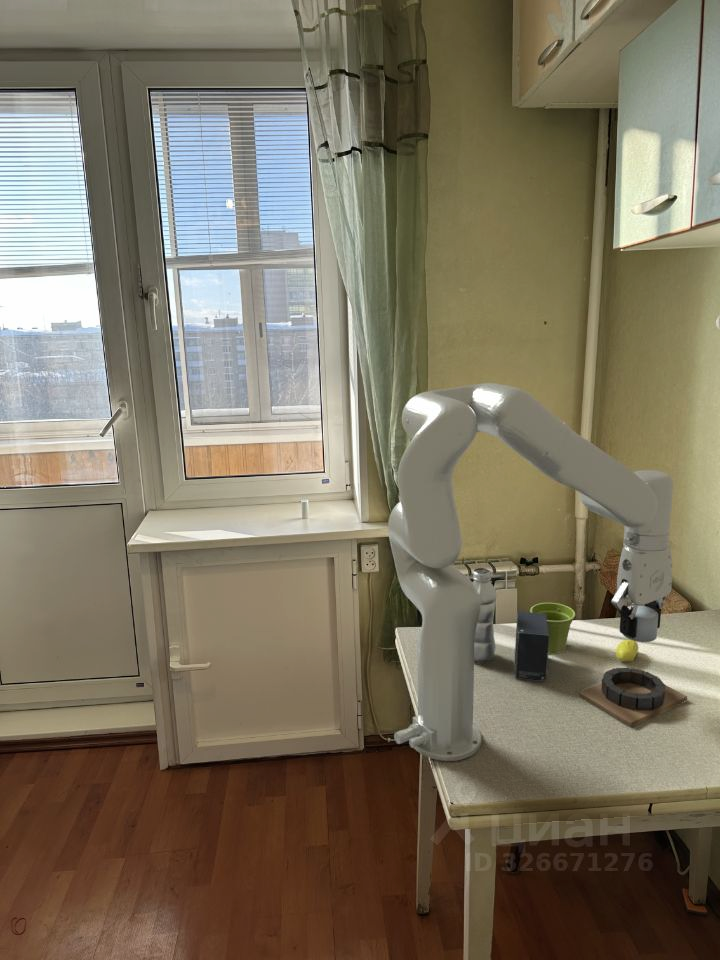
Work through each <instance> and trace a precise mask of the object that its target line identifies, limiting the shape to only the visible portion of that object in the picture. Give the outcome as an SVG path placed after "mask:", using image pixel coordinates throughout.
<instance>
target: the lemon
mask: <svg viewBox="0 0 720 960" xmlns="http://www.w3.org/2000/svg"><path fill="white" fill-rule="evenodd" d="M638 652H639V644H638V641H633V640H630V639H625V640H623V641H620V642H619V644H618V645H617V647H616V650H615V655H616V659H618V660H619V661H621V662H633V661H634V659H635V657H636V656H637V655H638Z"/></svg>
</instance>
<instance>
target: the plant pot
mask: <svg viewBox="0 0 720 960" xmlns="http://www.w3.org/2000/svg"><path fill="white" fill-rule="evenodd" d="M529 612H533V613H544V614H546V618H547V626H548V633H549V645H548V654H551V655H552V654H556V655H557V654H559V653H560V652H564V651H565V649H566V646H567V642H568V636H569V631H570V629H571V624H572V623H573V619H575V617H576V612H575V610H573V608H571V607H570V606H568V605H565V604H562V603H556V602H541V603H540V602H539V603H537V604H535V605H533V606H532V607H530V609H529Z"/></svg>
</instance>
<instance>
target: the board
mask: <svg viewBox="0 0 720 960" xmlns="http://www.w3.org/2000/svg"><path fill="white" fill-rule="evenodd" d="M615 686H616V687H618V688H620V689H622V690H624V691H627V692H631V693H635V694H646V693H650V692H651V691H650V690H648V689H647V688H645V687H643V686H640V685H636V684H632V683H619V684H617V685H615ZM665 686H666V689H665V698H664V703H663V705H662V706H661V707H658V708H656V709H654V710H645V711H637V709H636V710H632V709H628V708H624V707H621V705H620V706H618V705H616V704H614V703H613V702H611V701H609V700H607V699H606V697H605V696H604V694H603V693H602V690H601V689H602V682H599V683H597V684H594V685H592V686H590V687H587V688H585V689H583V690H581V691H578V697H579V698H580V699H582V700H584V702H585V701H586V702H587V703H589V704H590V705H592V706H594V707H595V708H597V709H598V710H599V711H601V712H604V714H607V715H609V717H612V718H614V719H615V720H616V721H618V722H620V723H622V724H624V725H625V726H627V727H629V728H630V729H631V728H633V727H635V726H637V725H640V724H641V723H644V722H646V721H648V720H650V719H652V718H654V717H656V716H659V715H660V714H663V713H665V712H667V711H669V710H671V709H673V708H675V707H678V706H679V705H681V703H682V702H684V701H686V700H687V701H688V695H685V694H683V693H682V692H680V691H678V690H676V689H674V688H673V687H670V686H668V685H666V684H665ZM687 701H686V702H687ZM684 703H685V702H684ZM678 704H679V705H678ZM682 704H683V703H682Z"/></svg>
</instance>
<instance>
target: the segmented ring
mask: <svg viewBox="0 0 720 960" xmlns="http://www.w3.org/2000/svg"><path fill="white" fill-rule="evenodd" d="M601 683H602V689H601V690H602V693H603V694H604V696H605V697H606V699H607V700H609V701H611V702H613V703H614V704H616V705H618V706H620V705H621V707H624V708H628V709H632V710H636V709H637V711H645V710H654V709H656V708H658V707H661V706H662V705H663V703H664V698H665V689H666V686H667V685H666V684H665V683H664V682H663V681H662V679H661V677H658V676H657V675H655V674H653V673H651V672H649V671H646V670H642V669H638V668H634V667H614V668H612V669H609V670H607V671H605V672H604V674H603V676H602V678H601ZM619 683H632V684H636V685H640V686H643V687H645V688H647V689H648V690H650V691H651V692H650V693H646V694H635V693H631V692H627V691H624V690H622V689H620V688H618V687H616V686H615V685H617V684H619ZM665 685H666V686H665Z"/></svg>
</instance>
